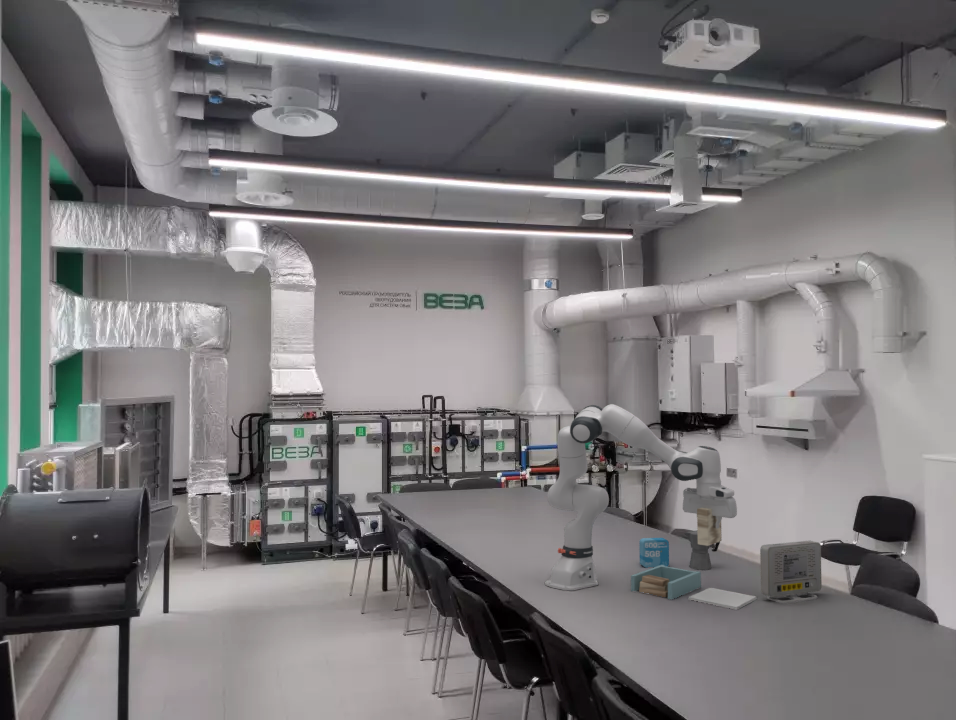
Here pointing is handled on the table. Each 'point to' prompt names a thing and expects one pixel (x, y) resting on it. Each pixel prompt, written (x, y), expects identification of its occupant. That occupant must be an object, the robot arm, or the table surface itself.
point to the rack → (671, 579)
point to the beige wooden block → (707, 527)
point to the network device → (790, 570)
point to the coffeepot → (699, 552)
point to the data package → (654, 552)
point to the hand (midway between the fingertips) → (709, 527)
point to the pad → (723, 598)
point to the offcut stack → (654, 585)
